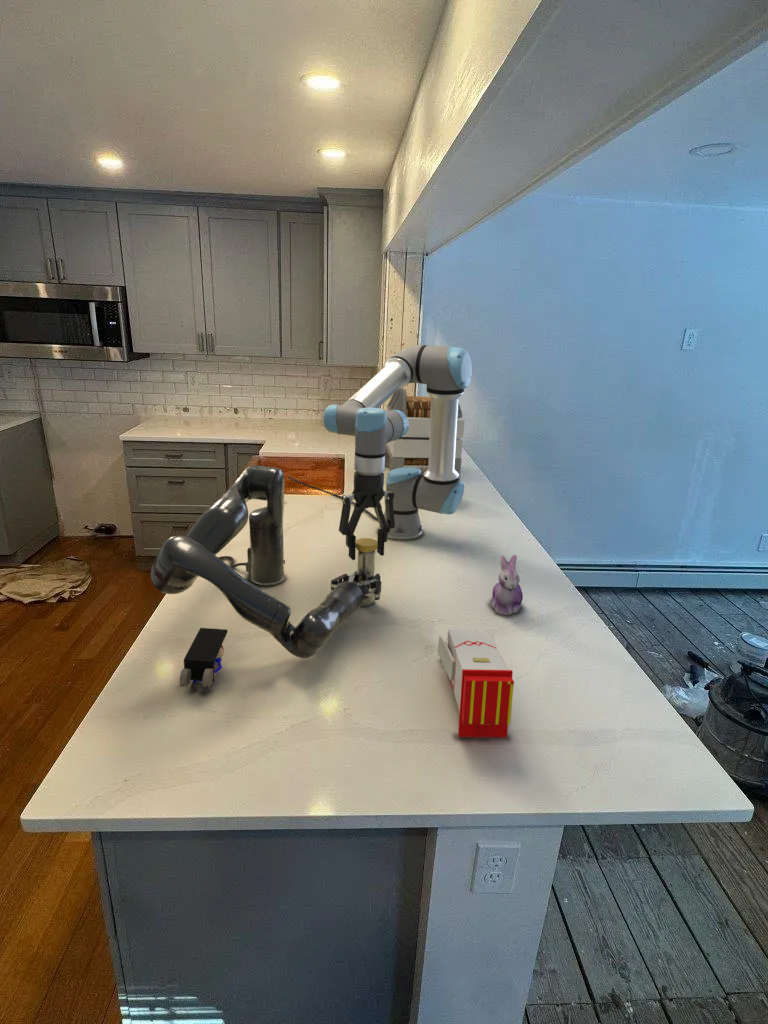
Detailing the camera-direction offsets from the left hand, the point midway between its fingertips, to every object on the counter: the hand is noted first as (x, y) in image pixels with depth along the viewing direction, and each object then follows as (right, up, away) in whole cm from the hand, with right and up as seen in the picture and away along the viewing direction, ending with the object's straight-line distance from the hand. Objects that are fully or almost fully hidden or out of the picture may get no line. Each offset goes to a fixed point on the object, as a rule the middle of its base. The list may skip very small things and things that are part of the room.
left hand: (369, 575), depth 153 cm
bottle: (-1, -7, 0) cm, 7 cm away
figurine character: (-34, -18, -33) cm, 50 cm away
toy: (+22, -21, -34) cm, 46 cm away
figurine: (+37, -9, 0) cm, 38 cm away
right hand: (-1, +6, -5) cm, 7 cm away
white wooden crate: (+21, +36, +122) cm, 129 cm away
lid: (-1, +9, -6) cm, 11 cm away
